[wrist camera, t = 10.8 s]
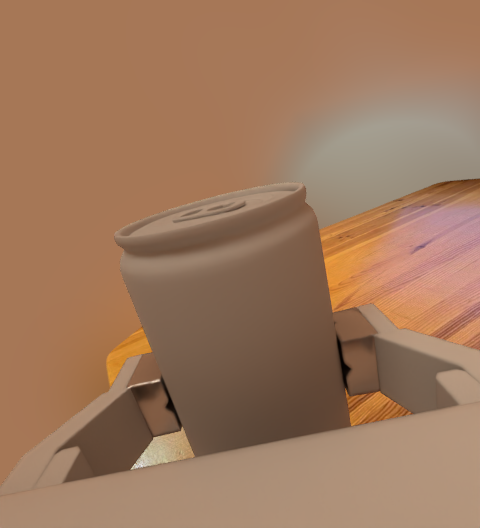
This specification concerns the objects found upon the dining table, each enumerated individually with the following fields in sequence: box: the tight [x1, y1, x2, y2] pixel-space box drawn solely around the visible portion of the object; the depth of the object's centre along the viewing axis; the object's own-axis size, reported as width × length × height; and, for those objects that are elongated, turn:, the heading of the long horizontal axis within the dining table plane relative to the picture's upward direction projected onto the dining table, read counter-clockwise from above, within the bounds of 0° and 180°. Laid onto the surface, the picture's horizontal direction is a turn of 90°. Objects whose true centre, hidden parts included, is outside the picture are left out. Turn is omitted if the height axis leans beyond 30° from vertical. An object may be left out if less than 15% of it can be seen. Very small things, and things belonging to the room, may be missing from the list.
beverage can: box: [114, 182, 351, 457], centre depth 9 cm, size 5×5×12 cm
